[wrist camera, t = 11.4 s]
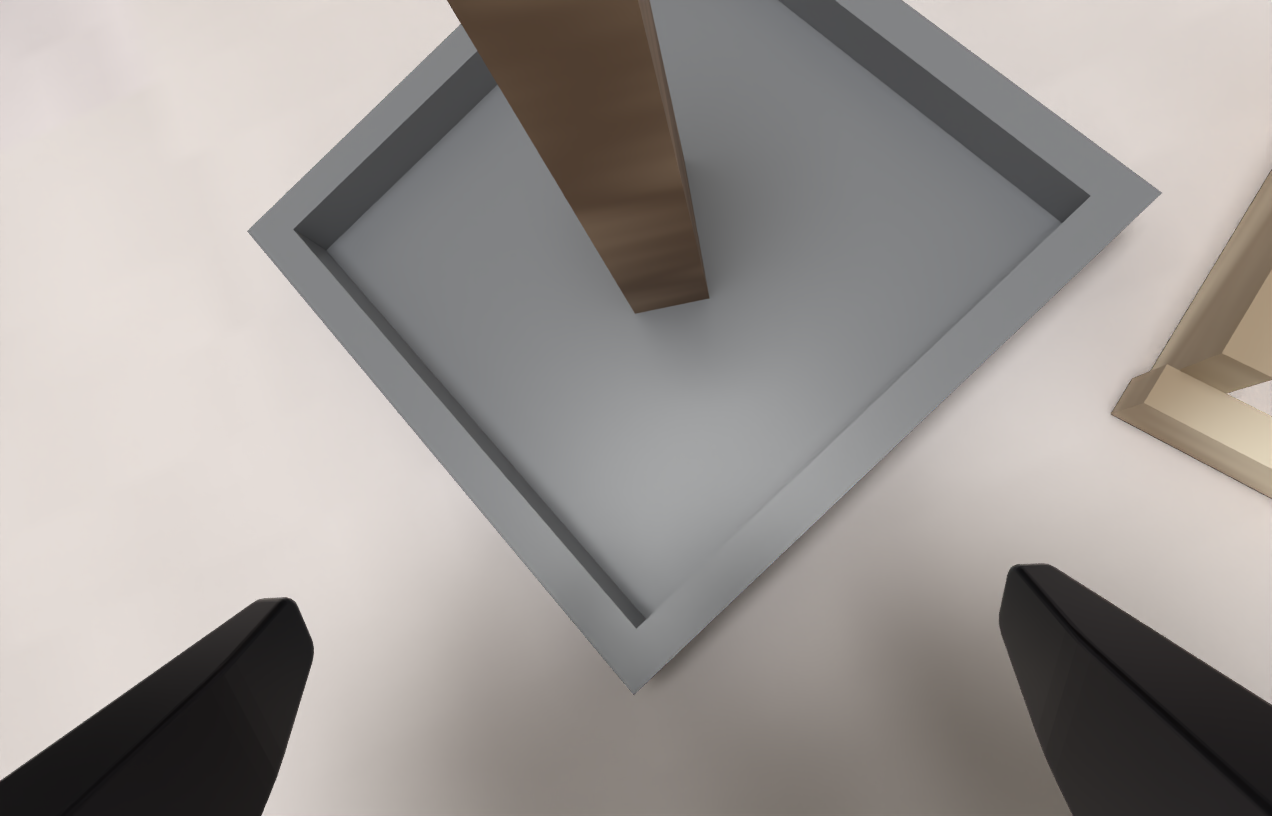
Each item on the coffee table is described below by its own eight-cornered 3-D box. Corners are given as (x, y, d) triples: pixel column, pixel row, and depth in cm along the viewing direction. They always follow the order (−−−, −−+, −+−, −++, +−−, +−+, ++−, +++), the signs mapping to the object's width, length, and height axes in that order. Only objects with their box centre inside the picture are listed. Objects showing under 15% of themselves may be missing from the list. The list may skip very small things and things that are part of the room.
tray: (1118, 230, 18) (1162, 192, 16) (648, 676, 18) (633, 694, 16) (674, -111, 21) (665, -175, 19) (293, 258, 22) (247, 231, 20)
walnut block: (684, 160, 19) (532, -539, 7) (709, 298, 19) (590, -198, 6) (613, 176, 20) (338, -462, 7) (634, 313, 19) (370, -129, 6)
